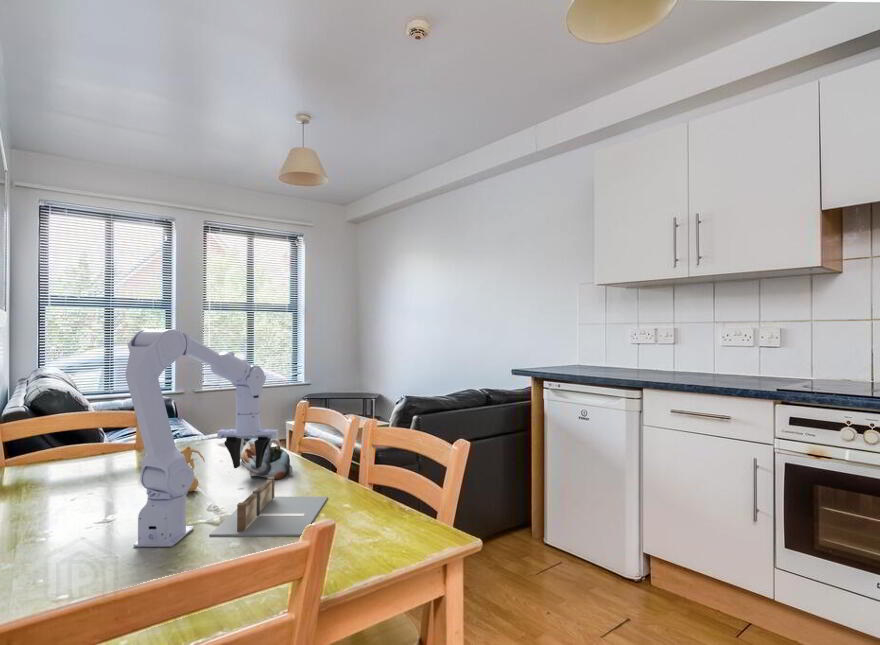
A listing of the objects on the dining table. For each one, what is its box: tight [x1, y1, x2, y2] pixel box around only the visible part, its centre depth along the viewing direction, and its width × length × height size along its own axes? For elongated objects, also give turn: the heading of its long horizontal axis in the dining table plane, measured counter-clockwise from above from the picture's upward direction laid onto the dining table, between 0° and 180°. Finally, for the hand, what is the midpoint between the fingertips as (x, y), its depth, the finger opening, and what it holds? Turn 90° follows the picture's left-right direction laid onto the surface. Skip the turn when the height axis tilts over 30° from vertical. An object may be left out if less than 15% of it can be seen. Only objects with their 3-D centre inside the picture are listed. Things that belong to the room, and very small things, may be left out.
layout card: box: [208, 496, 329, 537], centre depth 119 cm, size 24×20×1 cm
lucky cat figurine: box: [241, 438, 293, 481], centre depth 150 cm, size 15×12×14 cm
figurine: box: [180, 445, 206, 493], centre depth 137 cm, size 8×6×12 cm
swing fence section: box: [256, 477, 275, 511], centre depth 124 cm, size 10×1×5 cm, turn 0°
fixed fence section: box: [236, 489, 260, 532], centre depth 114 cm, size 10×2×6 cm, turn 0°
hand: (247, 467), depth 126 cm, fingers open, 5 cm apart
